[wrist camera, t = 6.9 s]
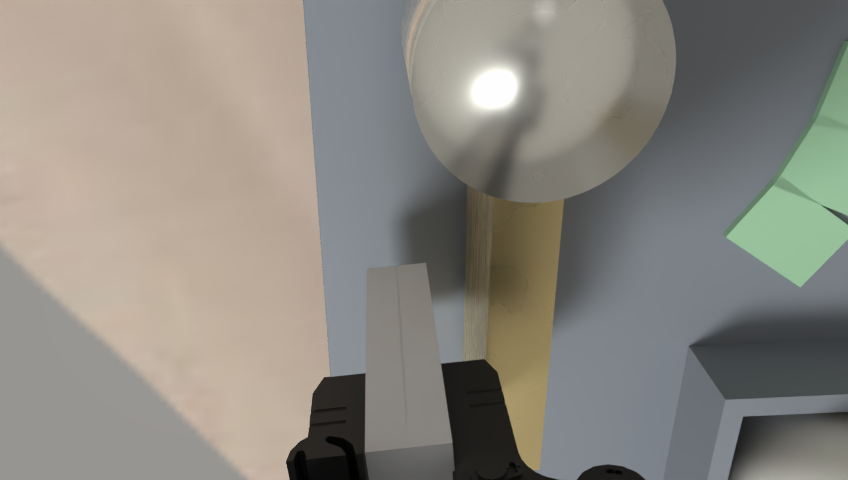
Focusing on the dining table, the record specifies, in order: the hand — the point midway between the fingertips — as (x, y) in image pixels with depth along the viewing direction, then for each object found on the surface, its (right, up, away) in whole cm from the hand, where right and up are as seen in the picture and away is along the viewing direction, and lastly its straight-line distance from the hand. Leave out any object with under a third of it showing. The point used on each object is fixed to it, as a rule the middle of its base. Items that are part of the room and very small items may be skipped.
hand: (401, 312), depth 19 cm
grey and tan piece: (+2, +3, 0) cm, 4 cm away
